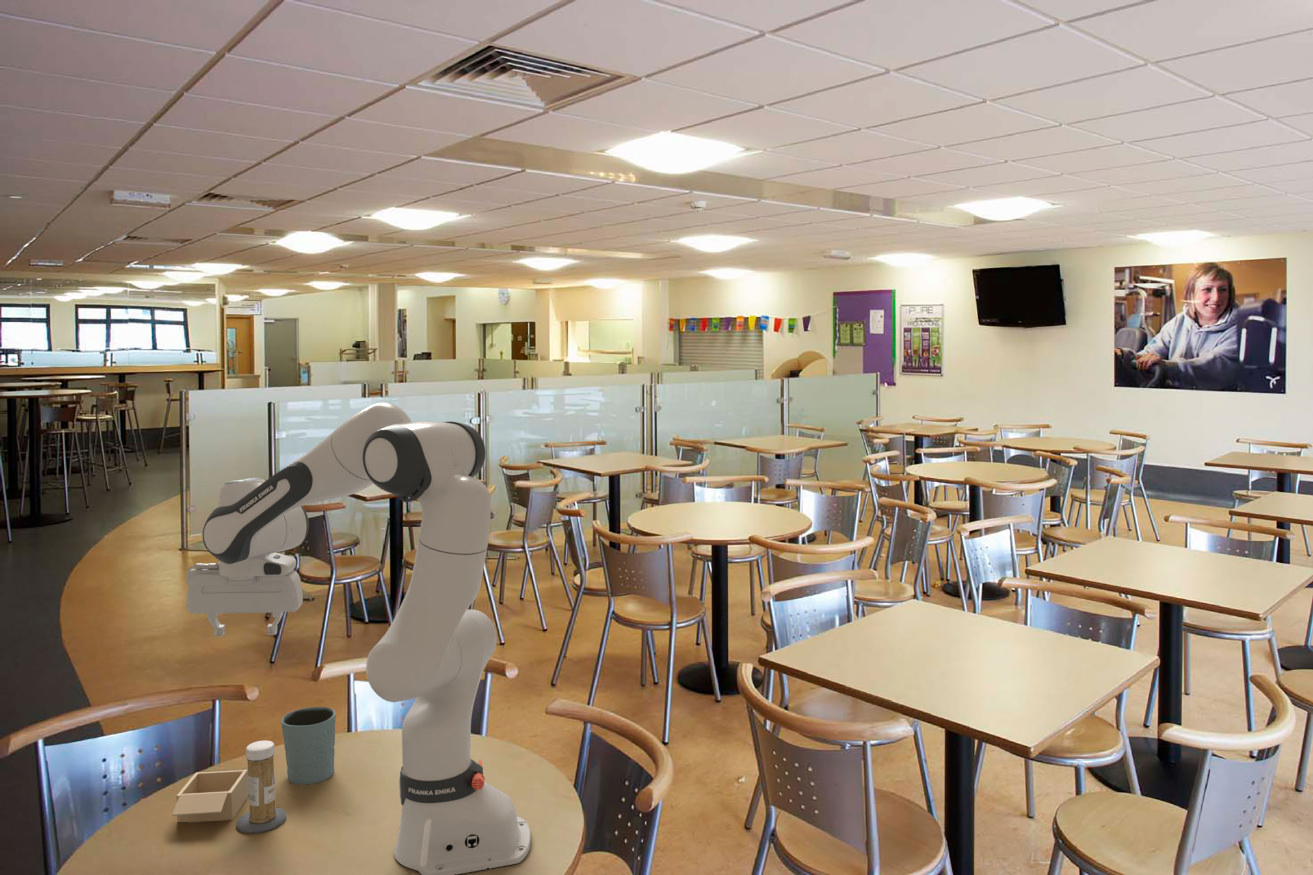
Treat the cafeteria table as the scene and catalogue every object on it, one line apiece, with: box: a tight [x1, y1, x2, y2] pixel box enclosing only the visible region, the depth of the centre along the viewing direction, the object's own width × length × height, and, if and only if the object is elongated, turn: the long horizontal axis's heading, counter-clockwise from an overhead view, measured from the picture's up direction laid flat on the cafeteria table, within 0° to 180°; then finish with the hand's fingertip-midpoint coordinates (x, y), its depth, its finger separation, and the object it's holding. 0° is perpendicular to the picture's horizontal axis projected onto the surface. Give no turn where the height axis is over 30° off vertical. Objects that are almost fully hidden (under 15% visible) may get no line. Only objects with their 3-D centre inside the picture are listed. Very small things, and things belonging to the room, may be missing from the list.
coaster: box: [236, 806, 287, 834], centre depth 158 cm, size 8×8×1 cm
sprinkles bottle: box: [245, 740, 276, 824], centre depth 157 cm, size 5×5×14 cm
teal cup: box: [280, 706, 337, 786], centre depth 176 cm, size 10×10×12 cm
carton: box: [171, 768, 248, 823], centre depth 162 cm, size 9×17×5 cm, turn 8°
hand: (246, 634), depth 169 cm, fingers open, 8 cm apart
